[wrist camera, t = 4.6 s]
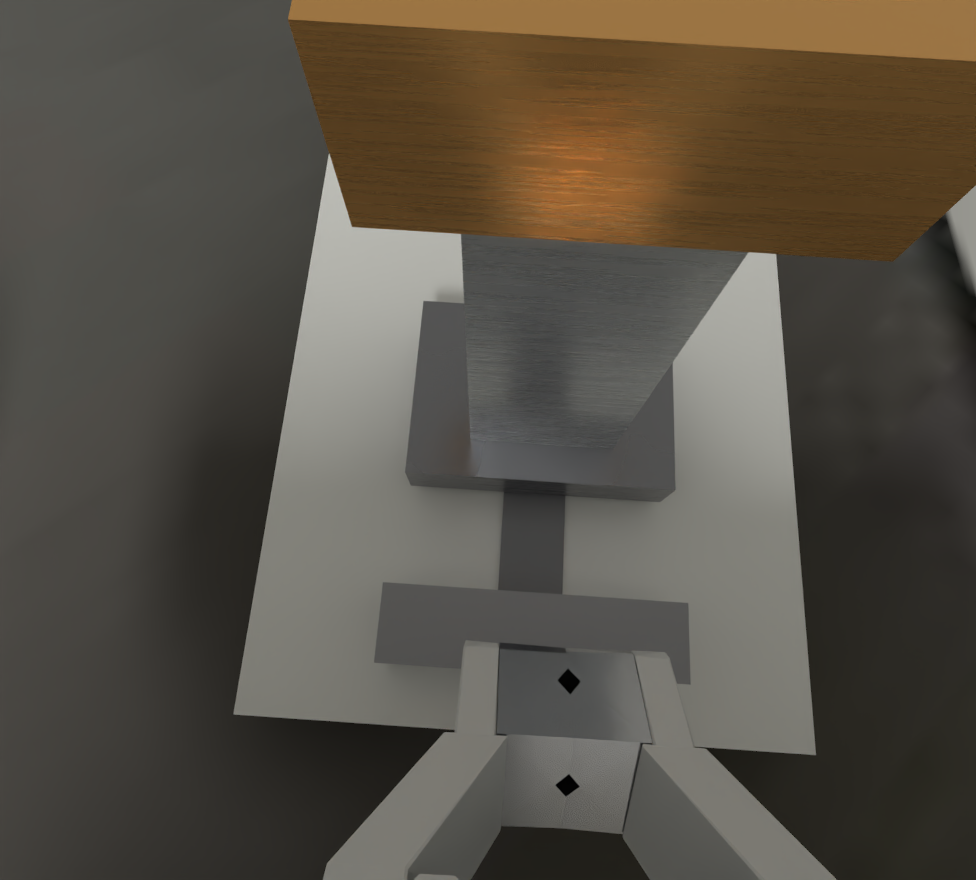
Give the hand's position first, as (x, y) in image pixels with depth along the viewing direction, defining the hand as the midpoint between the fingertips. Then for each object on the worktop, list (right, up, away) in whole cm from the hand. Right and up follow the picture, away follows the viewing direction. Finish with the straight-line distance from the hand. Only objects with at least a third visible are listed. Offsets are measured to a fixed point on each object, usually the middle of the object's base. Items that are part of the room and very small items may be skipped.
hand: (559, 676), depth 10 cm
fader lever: (0, +4, +5) cm, 7 cm away
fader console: (+1, +11, +10) cm, 15 cm away
